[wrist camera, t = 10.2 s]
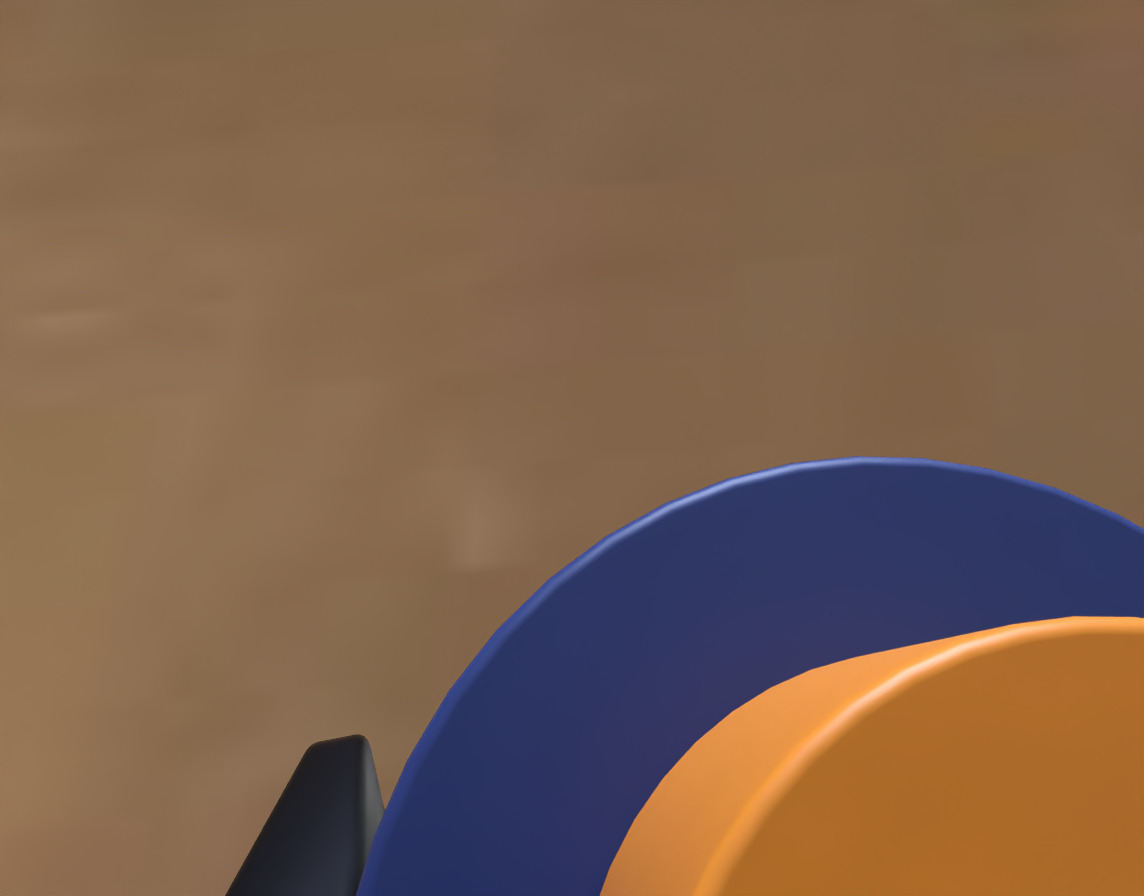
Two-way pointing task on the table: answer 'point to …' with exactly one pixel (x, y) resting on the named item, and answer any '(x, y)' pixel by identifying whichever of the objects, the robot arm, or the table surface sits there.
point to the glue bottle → (801, 703)
